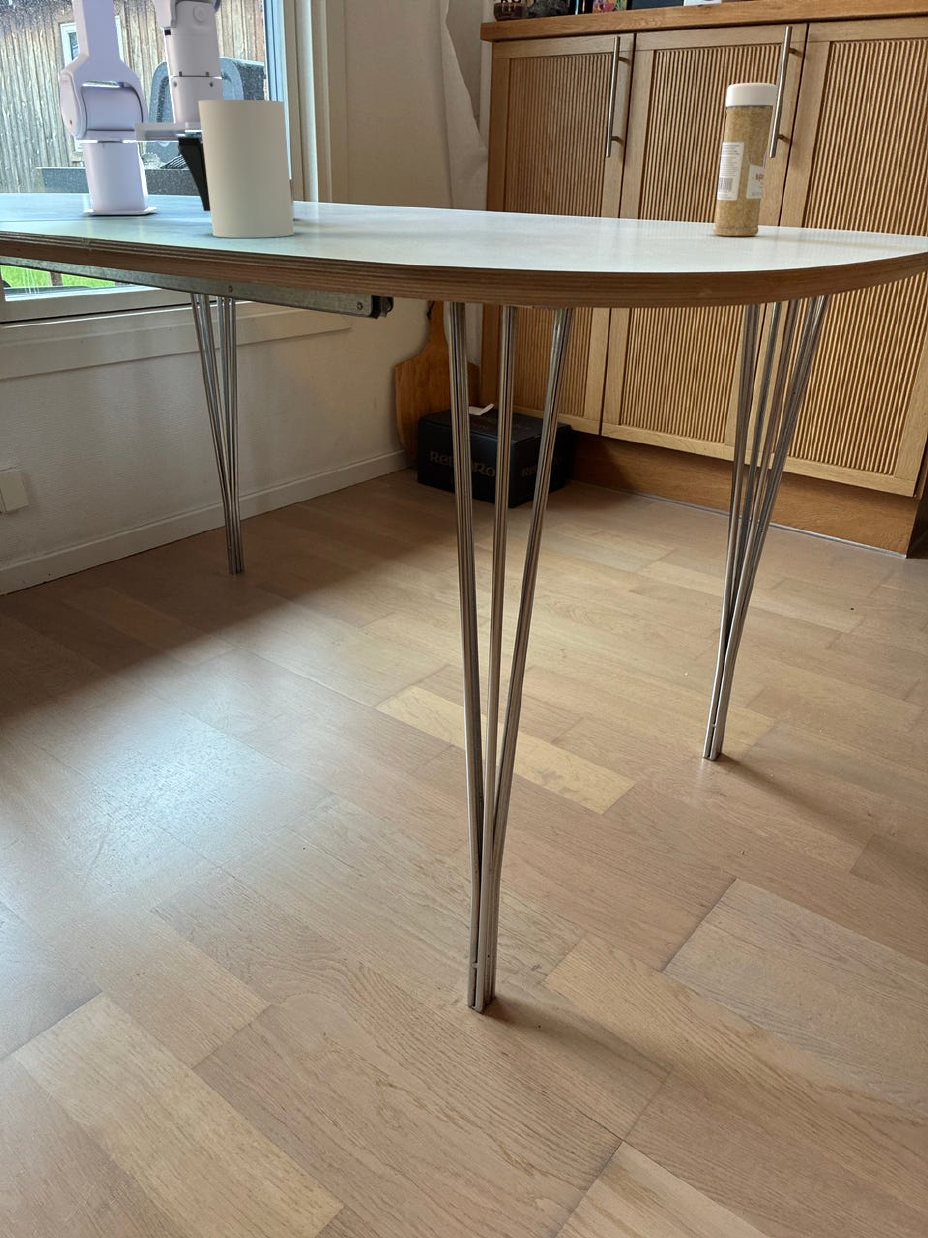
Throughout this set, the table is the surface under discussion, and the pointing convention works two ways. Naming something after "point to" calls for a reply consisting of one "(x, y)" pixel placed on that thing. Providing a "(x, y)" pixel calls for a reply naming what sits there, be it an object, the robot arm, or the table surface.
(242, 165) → the cup
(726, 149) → the spice jar
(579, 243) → the table surface
